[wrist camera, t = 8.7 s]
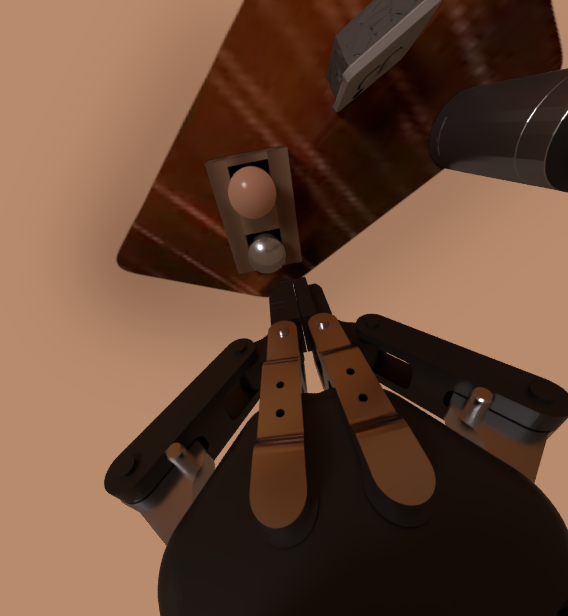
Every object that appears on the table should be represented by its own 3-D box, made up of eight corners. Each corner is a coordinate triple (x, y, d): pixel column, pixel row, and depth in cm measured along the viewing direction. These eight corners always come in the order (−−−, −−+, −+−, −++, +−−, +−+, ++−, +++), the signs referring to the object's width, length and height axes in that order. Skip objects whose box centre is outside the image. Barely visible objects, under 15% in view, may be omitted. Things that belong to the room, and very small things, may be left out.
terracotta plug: (267, 156, 31) (271, 162, 25) (274, 199, 34) (279, 213, 28) (227, 164, 31) (221, 172, 25) (238, 206, 34) (235, 222, 28)
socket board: (282, 145, 33) (287, 147, 29) (297, 249, 42) (302, 261, 38) (210, 159, 33) (204, 164, 29) (240, 260, 42) (238, 274, 38)
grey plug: (277, 217, 38) (282, 234, 32) (283, 248, 41) (288, 269, 35) (244, 224, 38) (243, 242, 32) (252, 254, 41) (253, 276, 35)
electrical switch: (334, 115, 32) (356, 100, 24) (313, 70, 29) (330, 37, 21) (402, 58, 29) (452, 20, 21) (385, 4, 27) (434, -61, 19)
